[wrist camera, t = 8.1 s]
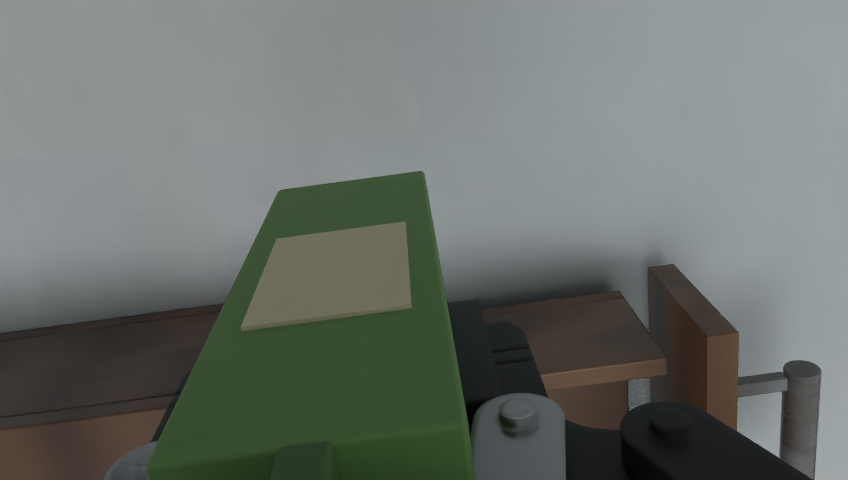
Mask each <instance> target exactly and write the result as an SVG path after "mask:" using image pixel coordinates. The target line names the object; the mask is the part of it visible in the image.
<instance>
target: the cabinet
mask: <svg viewBox="0 0 848 480" xmlns="http://www.w3.org/2000/svg"><path fill="white" fill-rule="evenodd" d="M223 305H224V304H218V305H211V306H203V307H196V308H188V309H181V310H173V311H166V312H159V313H151V314H144V315H136V316H129V317H121V318H114V319H106V320H99V321H92V322H84V323H77V324H69V325H62V326H54V327H47V328H39V329H32V330H25V331H17V332H10V333H2V334H0V480H103V479H104V476H105V474H106V472H107V470H108V469H109V468H110V467H111V465H112V464H113V463H114V462H115V461H117V460H118V459H119V458H120V457H122V456H123V455H125V454H126V453H128V452H130V451H131V450H133V449H135V448H138V447H140V446H142V445H145V444H148V443H150V442H151V440H152V438H153V436H154V434H155V432H156V430H157V428H158V426H159V424H160V422H161V420H162V418H163V416H164V414H165V412H166V410H167V409H169V404H170V402H171V400H172V398H173V396H174V395H175V392H176V390H177V388H178V386H179V384H180V382H181V380H182V377H183V376H184V375H185V374H186V373H187V372H189V371H190V370H191V369H192V368H193V367H194V365H195V363H196V361H197V359H198V357H199V355H200V353H201V351H202V349H203V347H204V345H205V342H206V340H207V338H208V336H209V334H210V332H211V330H212V328H213V326H214V324H215V322H216V320H217V318H218V316H219V313H220V311H221V309H222V307H223Z"/></svg>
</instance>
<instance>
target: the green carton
mask: <svg viewBox="0 0 848 480" xmlns="http://www.w3.org/2000/svg"><path fill="white" fill-rule="evenodd" d="M147 473H148V476H149V479H150V480H475V473H474V465H473V457H472V449H471V441H470V433H469V425H468V419H467V413H466V408H465V402H464V396H463V391H462V385H461V379H460V374H459V368H458V362H457V357H456V351H455V345H454V339H453V334H452V328H451V322H450V317H449V311H448V305H447V300H446V294H445V288H444V283H443V277H442V271H441V265H440V260H439V254H438V248H437V243H436V237H435V231H434V226H433V220H432V214H431V209H430V203H429V197H428V191H427V186H426V180H425V174H424V173H423V172H422V171H418V172H410V173H403V174H396V175H388V176H381V177H373V178H366V179H358V180H351V181H344V182H336V183H329V184H321V185H314V186H306V187H299V188H291V189H284V190H280V191H278V193H277V195H276V197H275V200H274V202H273V204H272V206H271V208H270V210H269V212H268V214H267V216H266V218H265V220H264V222H263V224H262V226H261V229H260V231H259V233H258V235H257V237H256V239H255V241H254V243H253V245H252V247H251V249H250V251H249V253H248V255H247V258H246V260H245V262H244V264H243V266H242V268H241V270H240V272H239V274H238V276H237V278H236V280H235V282H234V284H233V287H232V289H231V291H230V293H229V295H228V297H227V299H226V301H225V303H224V305H223V307H222V309H221V311H220V313H219V316H218V318H217V320H216V322H215V324H214V326H213V328H212V330H211V332H210V334H209V336H208V338H207V340H206V342H205V345H204V347H203V349H202V351H201V353H200V355H199V357H198V359H197V361H196V363H195V365H194V367H193V369H192V371H191V374H190V376H189V378H188V380H187V382H186V384H185V386H184V388H183V390H182V392H181V394H180V396H179V398H178V400H177V403H176V405H175V407H174V409H173V411H172V413H171V415H170V417H169V419H168V421H167V423H166V425H165V427H164V429H163V432H162V434H161V436H160V438H159V440H158V442H157V444H156V446H155V448H154V450H153V452H152V454H151V456H150V458H149V461H148V463H147Z"/></svg>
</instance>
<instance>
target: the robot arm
mask: <svg viewBox="0 0 848 480" xmlns="http://www.w3.org/2000/svg"><path fill="white" fill-rule="evenodd" d="M447 305H448V311H449V317H450V322H451V328H452V334H453V339H454V345H455V351H456V357H457V362H458V368H459V374H460V379H461V385H462V391H463V396H464V402H465V408H466V413H467V419H468V425H469V433H470V441H471V449H472V457H473V465H474V473H475V480H813V479H811V478H810V477H808V476H807V475H805V474H803V473H802V472H800V471H799V470H797V469H796V468H794V467H792V466H791V465H789V464H788V463H786V462H784V461H783V460H781V459H780V458H778V457H777V456H775V455H773V454H772V453H770V452H769V451H767V450H766V449H764V448H762V447H761V446H759V445H758V444H756V443H754V442H753V441H751V440H750V439H748V438H747V437H745V436H743V435H742V434H740V433H739V432H737V431H736V430H734V429H732V428H731V427H729V426H728V425H726V424H725V423H723V422H721V421H720V420H718V419H717V418H715V417H713V416H712V415H710V414H709V413H707V412H705V411H703V410H702V409H699V408H697V407H694V406H691V405H688V404H684V403H678V402H652V403H647V404H643V405H640V406H638V407H636V408H634V409H632V410H630V411H629V412H628V413H627V414H626V415H625V416H624V417H623V419H622V420H621V424H620V430H612V429H599V428H591V427H586V426H582V425H578V424H575V423H573V422H571V421H568V420H567V419H565V417H564V412H563V410H562V408H561V407H560V406H559V405H558V404H557V403H556V402H554V401H553V400H551V399H549V397H548V395H547V392H546V389H545V387H544V384H543V381H542V379H541V376H540V373H539V370H538V368H537V365H536V362H535V361H534V357H533V354H532V352H531V349H530V347H529V344H528V341H527V338H526V335H525V333H524V331H523V330H521V329H520V328H519V327H517V326H516V325H515V324H513V323H512V322H510V321H509V320H505V321H498V322H490V323H484V321H483V317H482V313H481V310H480V306H479V302H478V299H475V300H467V301H459V302H452V303H447ZM192 369H193V368H192ZM192 369H191V370H190V371H189V372H187V373H186V374H185V375H184V376H183V377H182V380H181V382H180V384H179V386H178V388H177V390H176V392H175V395H174V396H173V398H172V400H171V402H170V404H169V409H167V410H166V412H165V414H164V416H163V418H162V420H161V422H160V424H159V426H158V428H157V430H156V432H155V434H154V436H153V438H152V440H151V442H150V443H148V444H145V445H142V446H140V447H138V448H135V449H133V450H131V451H130V452H128V453H126V454H125V455H123V456H122V457H120V458H119V459H118V460H117V461H115V462H114V463H113V464H112V465H111V467H110V468H109V469H108V470H107V472H106V474H105V476H104V479H103V480H150V479H149V476H148V473H147V463H148V461H149V458H150V456H151V454H152V452H153V450H154V448H155V446H156V444H157V442H158V440H159V438H160V436H161V434H162V432H163V429H164V427H165V425H166V423H167V421H168V419H169V417H170V415H171V413H172V411H173V409H174V407H175V405H176V403H177V400H178V398H179V396H180V394H181V392H182V390H183V388H184V386H185V384H186V382H187V380H188V378H189V376H190V374H191V371H192Z"/></svg>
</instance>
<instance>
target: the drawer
mask: <svg viewBox="0 0 848 480" xmlns="http://www.w3.org/2000/svg"><path fill="white" fill-rule="evenodd" d="M648 303H649V332H648V331H647V329H646V328H645V326H644V325H643V324H642V322H641V321H640V319H639V318H638V317H637V315H636V314H635V312H634V311H633V309H632V308H631V307H630V305H629V304H628V302H627V301H626V300H625V299H624V296H623V295H622V294H621V292H620V291H612V292H605V293H597V294H590V295H582V296H575V297H567V298H560V299H553V300H545V301H538V302H530V303H523V304H515V305H508V306H500V307H493V308H485V309H480V310H481V313H482V317H483V321H484V323H490V322H498V321H505V320H509V321H510V322H512V323H513V324H515V325H516V326H517V327H519V328H520V329H521V330H523V331H524V333H525V335H526V338H527V341H528V344H529V347H530V349H531V352H532V354H533V357H534V361H535V362H536V365H537V368H538V370H539V373H540V376H541V379H542V381H543V384H544V387H545V389H546V392H547V395H548V397H549V399H551V400H553V401H554V402H556V403H557V404H558V405H559V406H560V407H561V408H562V410H563V412H564V417H565V419H567V420H568V421H571V422H573V423H575V424H578V425H582V426H586V427H591V428H599V429H612V430H620V424H621V420H622V419H623V417H624V416H625V415H626V414H627V413H628V412H629V407H628V381H627V380H632V379H639V378H647V377H650V379H651V403H652V402H678V403H684V404H688V405H691V406H694V407H697V408H699V409H702V410H703V411H705V412H707V413H709V414H710V415H712V416H713V417H715V418H717V419H718V420H720V421H721V422H723V423H725V424H726V425H728V426H729V427H731V428H732V429H734V430H736V431H737V397H743V396H751V395H758V394H766V393H773V392H781V391H782V408H781V431H780V454H779V458H780V459H781V460H783V461H784V462H786V463H788V464H789V465H791V466H792V467H794V468H796V469H797V470H799V471H800V472H802V473H803V474H805V475H807V476H808V477H810V478H811V479H813V480H814V478H815V462H816V447H817V431H818V415H819V400H820V384H821V369H820V368H819V367H818V366H817V365H816V364H814V363H811V362H808V361H802V360H795V361H790V362H787V363H786V364H785V365H784V367H783V373H782V372H776V373H768V374H761V375H753V376H746V377H738V344H739V333H738V331H737V330H736V329H735V328H734V327H733V326H732V325H731V324H730V323H729V322H728V321H727V320H726V319H725V318H724V317H723V316H722V315H721V313H720V312H719V311H718V310H717V309H716V308H715V307H714V306H713V305H712V304H711V303H710V302H709V301H708V300H707V299H706V298H705V297H704V296H703V295H702V294H701V293H700V292H699V290H698V289H697V288H696V287H695V286H694V285H693V284H692V283H691V282H690V281H689V280H688V279H687V278H686V277H685V276H684V275H683V274H682V273H681V272H680V271H679V270H678V269H677V267H676V266H675V265H674V264H668V265H661V266H653V267H648Z"/></svg>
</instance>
